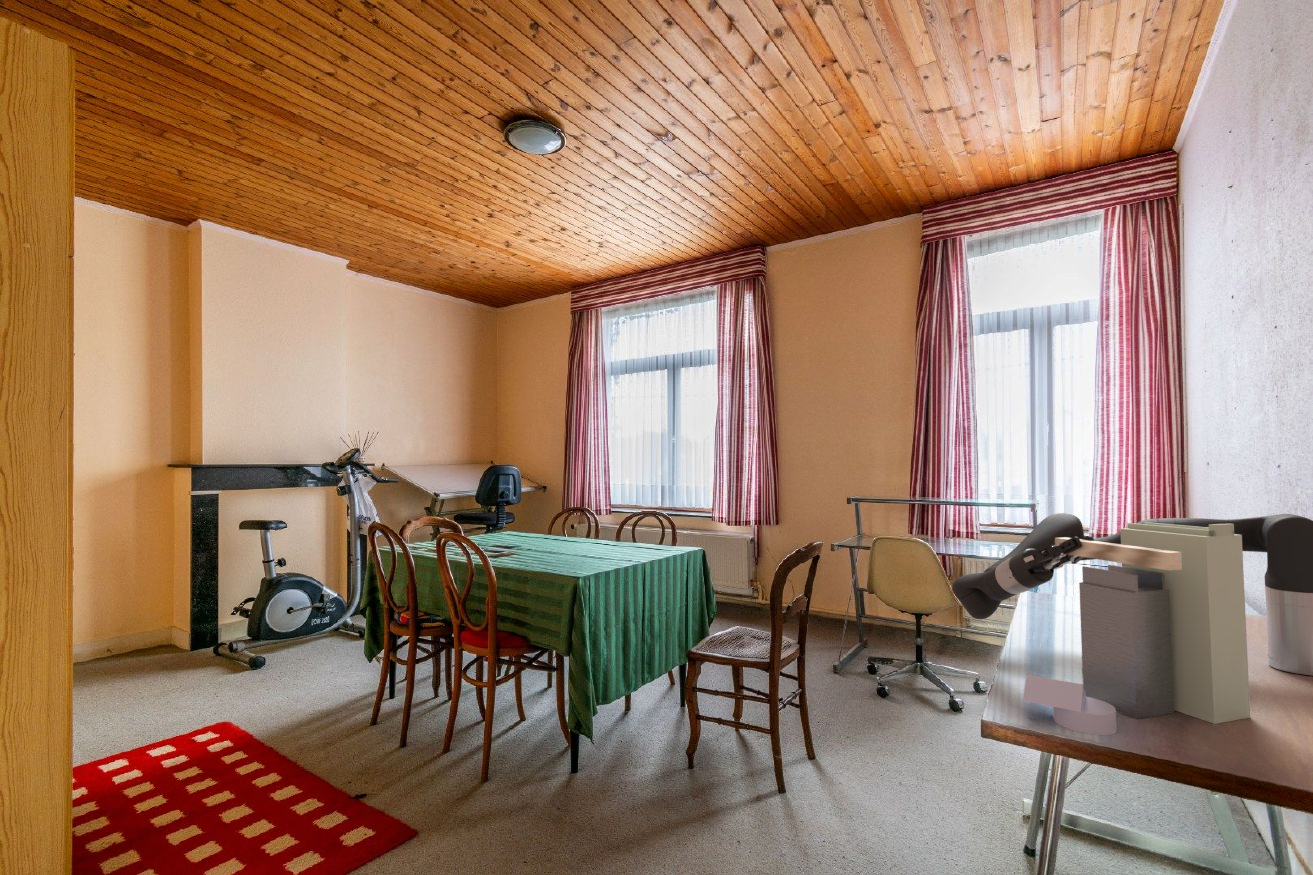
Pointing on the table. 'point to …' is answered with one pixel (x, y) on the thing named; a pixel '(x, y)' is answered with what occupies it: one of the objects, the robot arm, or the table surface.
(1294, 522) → the robot arm
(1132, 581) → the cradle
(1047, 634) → the table surface
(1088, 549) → the rail
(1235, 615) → the pale green tall block
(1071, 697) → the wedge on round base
